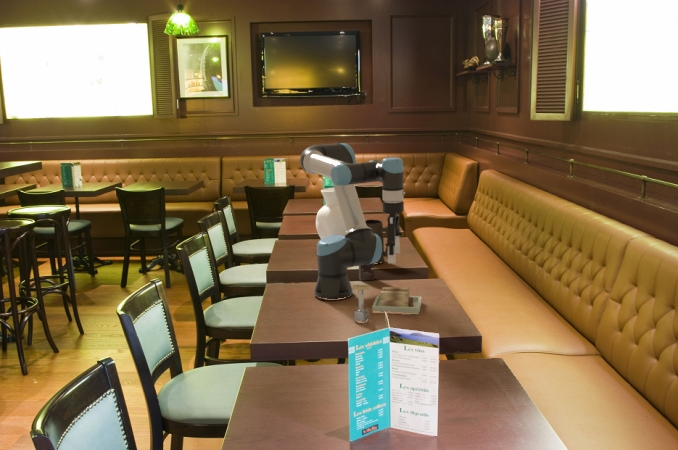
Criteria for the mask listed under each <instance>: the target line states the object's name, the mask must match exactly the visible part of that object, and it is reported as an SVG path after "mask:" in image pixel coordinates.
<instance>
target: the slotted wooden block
mask: <svg viewBox="0 0 678 450" xmlns="http://www.w3.org/2000/svg"><path fill="white" fill-rule="evenodd" d="M380 295H381V306H397V307H413V297H409V296H410V287H399V286H398V287H395V286H394V287H393V286H388V287H387V286H383V287H382V288H381V290H380Z"/></svg>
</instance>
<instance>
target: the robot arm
mask: <svg viewBox="0 0 678 450" xmlns="http://www.w3.org/2000/svg"><path fill="white" fill-rule="evenodd" d="M299 165H300V166H301V168H302V170H303V171H304V172H306V173H307V174H311V175H320V176H323V177H326V178H327V179H328V180H330V181H331V183H332V186H333V188H334V190H335V193H336V197H337V200H338V204H339V207H340V211H341V214H342V218H343V221H344V224H345V228H346V231H347V232H346V234H345V236H343V235H336V236H335V235H333V236H328V237H325V238H323V239H321V238H320V239H319V241H318V242H317V244H316V259H317V280H316V284H315V288H314V296H315V295H317V296H318V297H321V298H327V299H338V298H344V297H348V296H350V295H351V294H352V295H353V288H352V284H351V282H350V279H349V277H348V268H353V267H359V266H361V265H369V264H372V263H376V262H377V261H378V260H379V259H380V257H381V253H382V242H381V239H380V237H379V236H378V235H377V234H373V232H372V229H371V228H370V227H368V226H367V225H366V222H365V220H366V219H365V216H364V211H363V210H362V206H361V202H360V199H359V196H358V192H357V189H356V186H355V185H358V184H367V183H368V184H369V183H382V194H381V195H382V201H383V202H382V211H383V213H385V214H389V215H388V216H387V226H388V234H386V239H387V240H386V243H385V247H386V246H388V257H387V264H396V263H397V262H396V261H397V257H396V256H397V255H396V254H400V253H401V248H400V247H401V245H400V237H401V236H402V232H401V230H400V229H401V228H400V227H401V226H400V214H401V213H403V212H404V210H405V209H404V208H405V204H404V196H405V194H406V191H404V182H405V181H404V178H405V177H404V176H405V175H404V173H405V172H404V171H405V168H404V161H403V159H402V158H401V157H393V156H392V157H385V158H382V160H379V159H372V160H369V161H366V162H363V161H362V162H357V161H356V154H355V151H354V149H353V147H352V146H351V145H349V144H348V143H342V142H335V143H325V144H314V145H310V146H309V147H306V149H304V150H303V151H302V152H301V154H300V157H299Z"/></svg>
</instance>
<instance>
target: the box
mask: <svg viewBox="0 0 678 450" xmlns="http://www.w3.org/2000/svg"><path fill="white" fill-rule="evenodd" d="M358 279H359V280H360V282H362V281H372V280H373V281H374V280H375V265H374V263H372V264H369V265H361V266H358Z"/></svg>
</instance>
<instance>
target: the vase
mask: <svg viewBox="0 0 678 450" xmlns="http://www.w3.org/2000/svg"><path fill="white" fill-rule="evenodd" d="M320 193H321V195H322V197H323V198H324V199H323V200H324V202H325V203H324V204H325V205H323V206H322V207H320V209H319V210H318V211H317V213H316V216H315V228H316V232H317V235H318V236H319V238H320V240H321V239H323V238H325V237H328V236H333V235H335V236H336V235H343V236H345V234H346V228H345V224H344V221H343V218H342V214H341V211H340V207H339V204H338V200H337V197H336V193H335V190H334V187H327V188H324V189H321V190H320Z"/></svg>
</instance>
